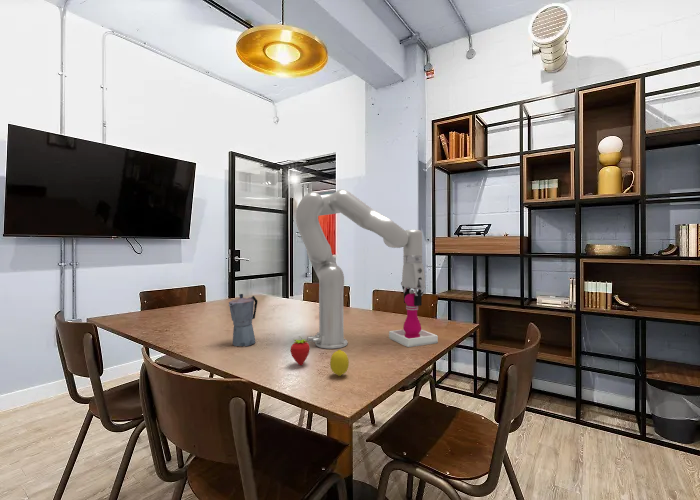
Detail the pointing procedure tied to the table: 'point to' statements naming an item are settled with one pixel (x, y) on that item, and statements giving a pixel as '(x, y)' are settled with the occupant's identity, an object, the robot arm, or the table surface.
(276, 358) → the table surface
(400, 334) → the tray
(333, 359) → the lemon
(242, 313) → the moka pot
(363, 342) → the table surface
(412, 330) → the pepper mill
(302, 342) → the strawberry
